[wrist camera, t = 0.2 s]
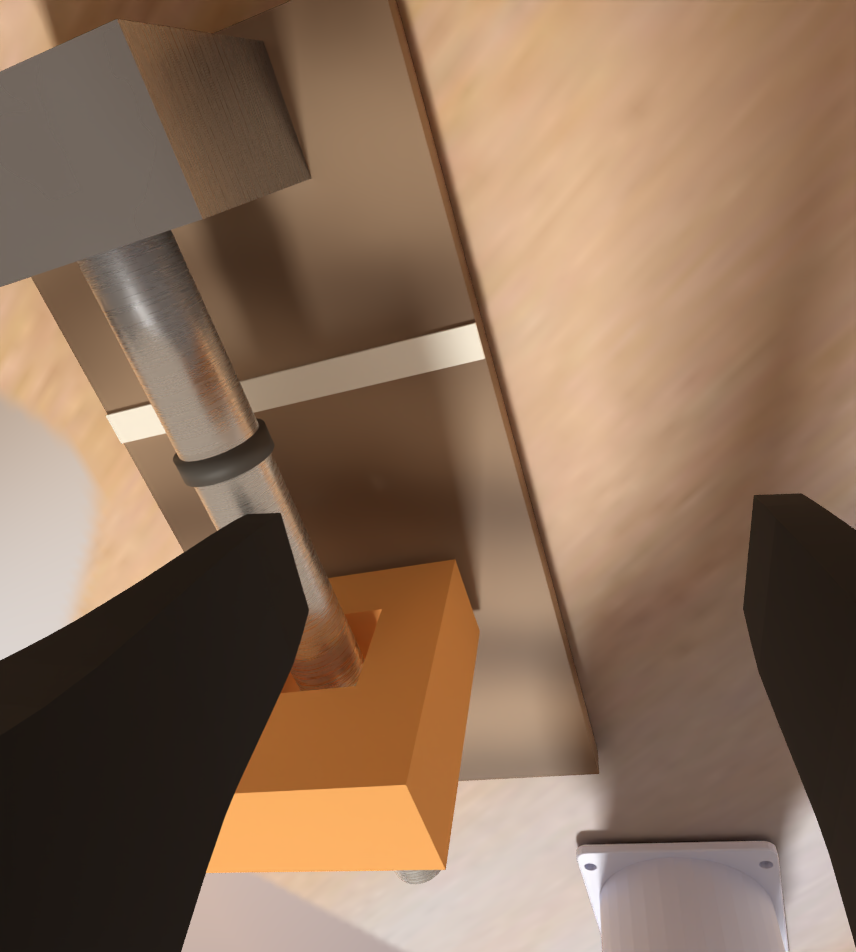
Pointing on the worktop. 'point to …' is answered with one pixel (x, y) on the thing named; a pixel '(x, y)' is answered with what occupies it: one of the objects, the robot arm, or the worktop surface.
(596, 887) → the robot arm
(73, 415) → the worktop surface
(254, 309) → the rod stand
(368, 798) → the collar
